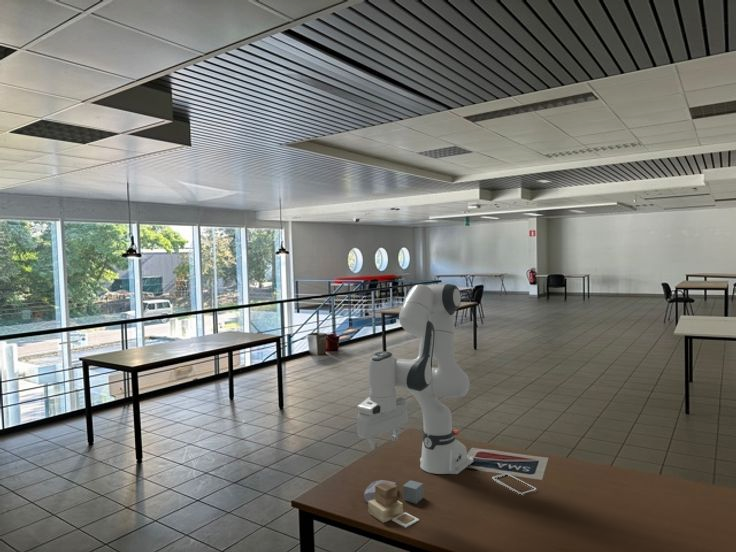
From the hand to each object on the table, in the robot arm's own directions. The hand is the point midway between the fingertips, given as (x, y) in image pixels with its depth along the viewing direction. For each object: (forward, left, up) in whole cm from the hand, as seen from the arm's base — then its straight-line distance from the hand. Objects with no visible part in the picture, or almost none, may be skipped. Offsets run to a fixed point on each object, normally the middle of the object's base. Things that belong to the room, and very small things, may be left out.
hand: (384, 444), depth 160 cm
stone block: (-4, -8, -22) cm, 24 cm away
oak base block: (+2, +2, -22) cm, 22 cm away
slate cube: (-11, +2, -21) cm, 24 cm away
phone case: (-44, +20, -22) cm, 53 cm away
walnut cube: (+2, +2, -18) cm, 18 cm away
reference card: (+1, +10, -21) cm, 23 cm away
